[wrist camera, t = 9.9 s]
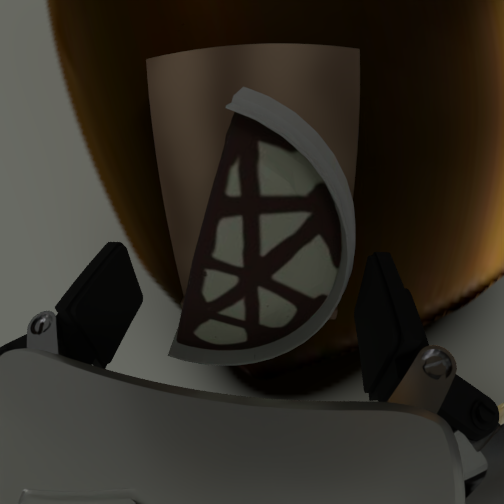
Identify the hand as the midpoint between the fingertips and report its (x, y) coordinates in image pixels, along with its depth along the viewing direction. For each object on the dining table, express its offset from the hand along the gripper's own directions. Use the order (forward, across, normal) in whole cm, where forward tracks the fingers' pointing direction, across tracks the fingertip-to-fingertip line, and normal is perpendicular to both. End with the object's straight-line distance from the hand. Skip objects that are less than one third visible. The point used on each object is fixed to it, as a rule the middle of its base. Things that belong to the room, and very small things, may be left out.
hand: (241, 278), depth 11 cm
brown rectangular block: (+14, +1, +1) cm, 14 cm away
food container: (+9, -1, 0) cm, 9 cm away
